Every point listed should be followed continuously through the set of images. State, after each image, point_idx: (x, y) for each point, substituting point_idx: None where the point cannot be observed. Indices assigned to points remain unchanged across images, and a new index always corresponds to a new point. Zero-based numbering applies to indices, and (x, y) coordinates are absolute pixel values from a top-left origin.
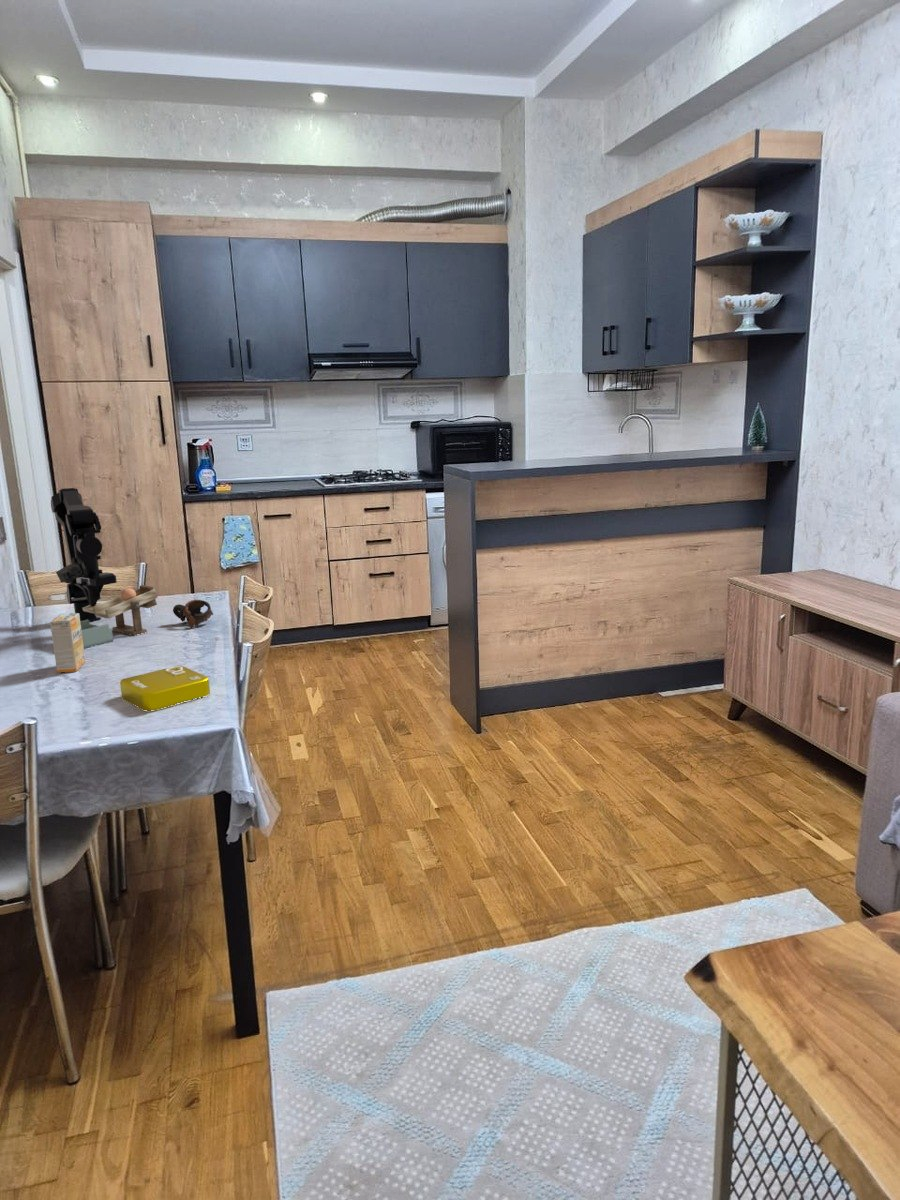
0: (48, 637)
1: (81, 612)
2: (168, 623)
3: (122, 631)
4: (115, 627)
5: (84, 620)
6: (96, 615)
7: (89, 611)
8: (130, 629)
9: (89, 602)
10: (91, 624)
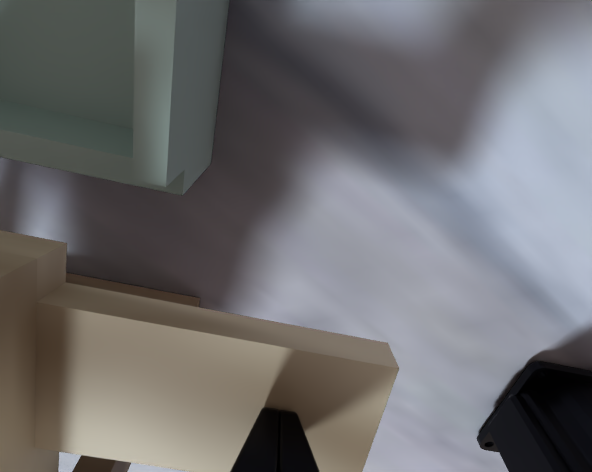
0: (565, 2)
1: (589, 437)
2: (65, 454)
3: (81, 283)
4: None
5: (168, 148)
6: (31, 238)
7: (251, 324)
8: None
9: (293, 455)
10: (168, 189)
